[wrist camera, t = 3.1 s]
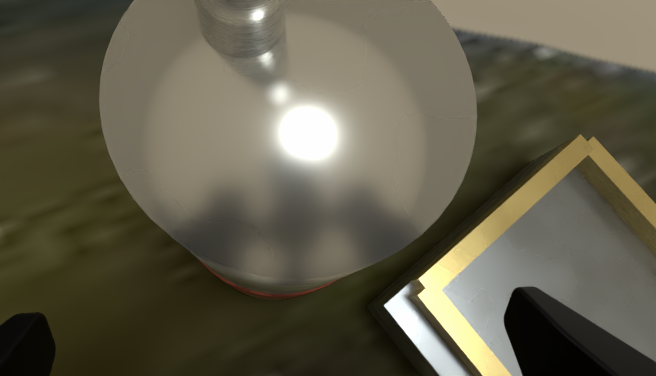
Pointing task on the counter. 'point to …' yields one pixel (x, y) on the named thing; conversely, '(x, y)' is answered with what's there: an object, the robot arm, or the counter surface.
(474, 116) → the spout can
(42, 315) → the robot arm
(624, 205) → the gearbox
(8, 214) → the counter surface
